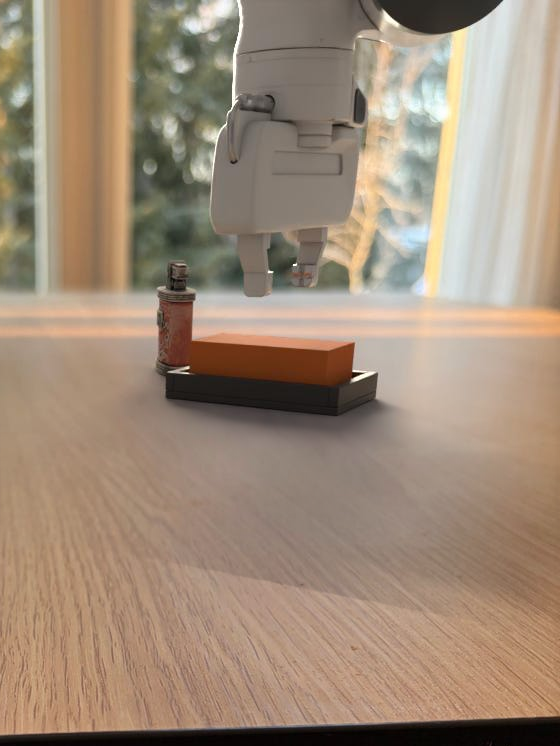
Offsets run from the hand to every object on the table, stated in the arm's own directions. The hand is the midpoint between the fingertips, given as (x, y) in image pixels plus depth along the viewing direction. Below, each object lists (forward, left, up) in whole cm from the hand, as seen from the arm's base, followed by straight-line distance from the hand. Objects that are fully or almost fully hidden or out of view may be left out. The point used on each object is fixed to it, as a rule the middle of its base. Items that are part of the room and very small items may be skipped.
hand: (282, 291), depth 85 cm
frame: (0, 0, -9) cm, 9 cm away
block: (+1, 0, -8) cm, 8 cm away
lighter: (+14, -9, -9) cm, 19 cm away
